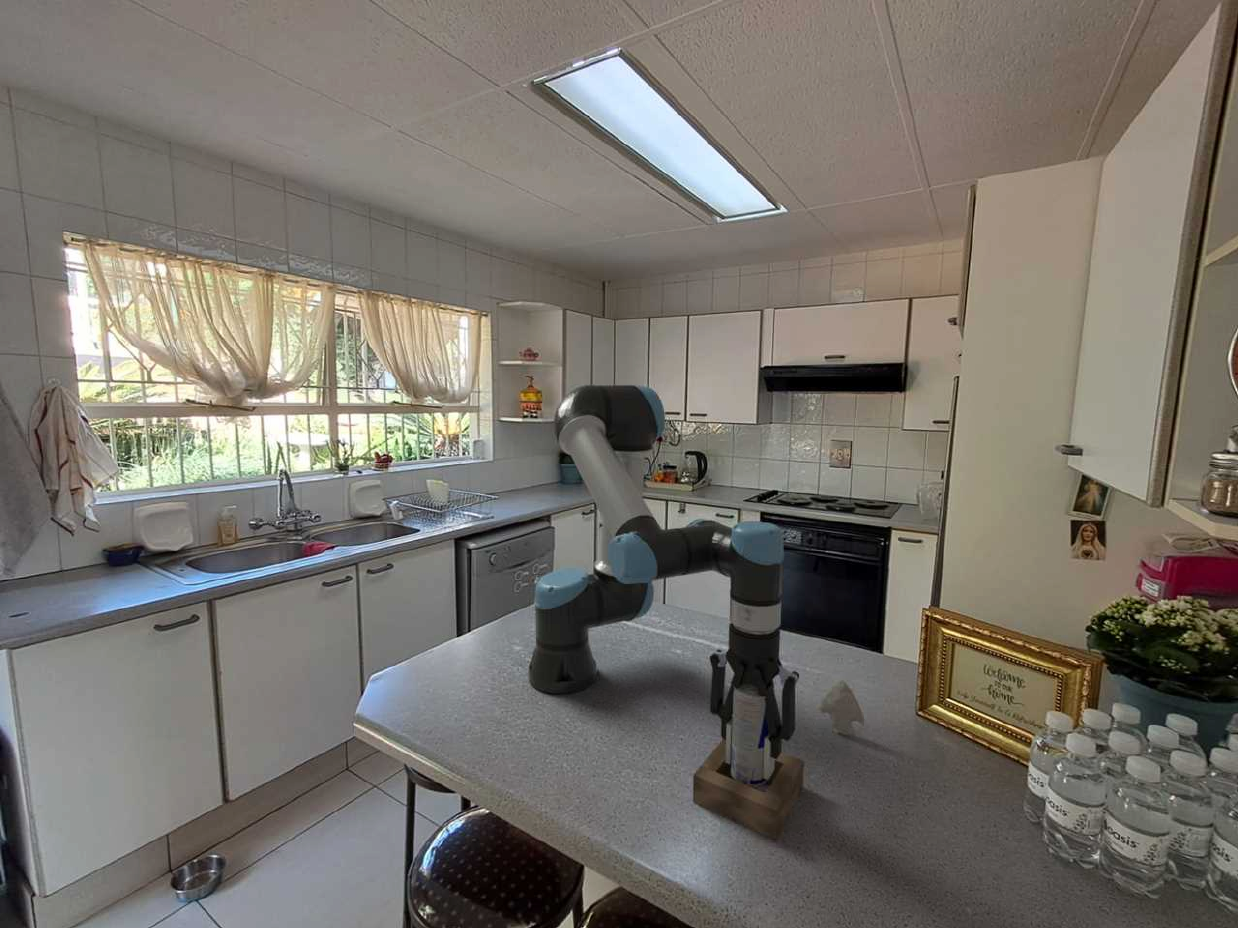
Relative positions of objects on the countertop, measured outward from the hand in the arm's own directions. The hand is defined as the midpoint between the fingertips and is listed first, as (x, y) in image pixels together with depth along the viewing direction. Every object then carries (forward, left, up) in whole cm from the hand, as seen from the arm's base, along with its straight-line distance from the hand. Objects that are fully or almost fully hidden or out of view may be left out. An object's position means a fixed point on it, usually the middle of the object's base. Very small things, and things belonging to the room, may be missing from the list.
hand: (749, 765), depth 86 cm
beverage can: (0, 0, -2) cm, 2 cm away
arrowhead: (+8, +25, -5) cm, 27 cm away
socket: (0, 0, -5) cm, 5 cm away
